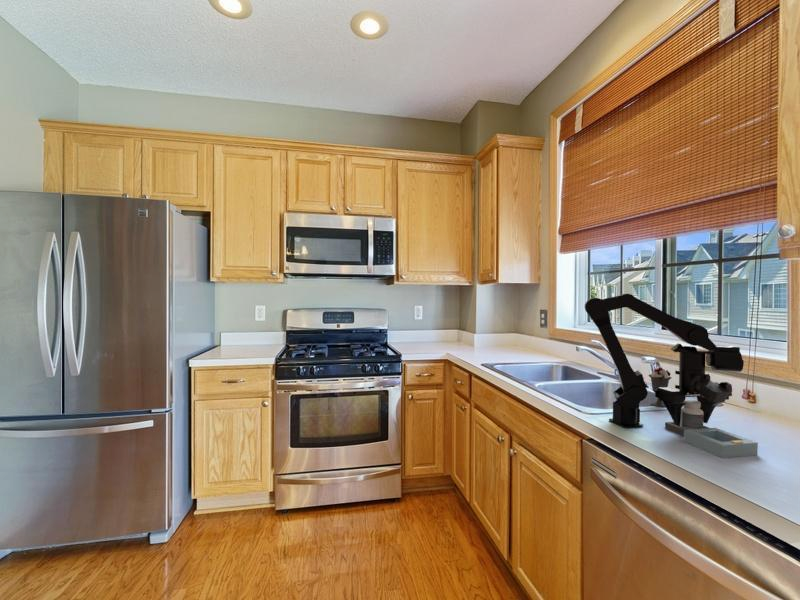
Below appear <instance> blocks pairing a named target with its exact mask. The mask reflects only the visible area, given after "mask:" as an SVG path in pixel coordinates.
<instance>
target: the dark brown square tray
mask: <svg viewBox="0 0 800 600" xmlns="http://www.w3.org/2000/svg"><path fill="white" fill-rule="evenodd" d="M664 425H665V426H664V429H666V430H670V431H672V432H675V433H677V434H679V435H682V436H684V430H687V429H684V428H682V427H679V425H676V424H675V423H674V421H665V422H664ZM704 428H710V427H708V426H706V425H703V429H704Z"/></svg>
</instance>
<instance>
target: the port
mask: <svg viewBox="0 0 800 600" xmlns="http://www.w3.org/2000/svg"><path fill="white" fill-rule="evenodd" d="M683 442H684V443H687V444H689V445H691V446H695V447H696V448H698V449H701V450H704V451H706V452H708V453H711V454H713V455H715V456H717V457H720V458H722V459H728V458H738V457H739V458H741V457H747V456H748V457H749V456H750V457H751V456H758V453H759V452H758V450H759V446H758V445H759V444H758V443H759V442H757V441H754V440H752V439H748V438H747V437H743V436H742V435H741V436H740V435H738V434H735V433H732V432H729V431H726V430H723V429H721V428H718V427H709V428H704V429H691V430H684V435H683Z"/></svg>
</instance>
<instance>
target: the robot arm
mask: <svg viewBox="0 0 800 600" xmlns="http://www.w3.org/2000/svg"><path fill="white" fill-rule="evenodd" d="M624 308H627V309H629V310H631V311H632V312H635V313H636V314H638V315H641V316H643V317H644V318H646V319H648V320H650V321H651V322H653V323H656V324H657V325H659V326H661V327H663V328H665V329H666V330H667V331H669V332H670V333H671V334H672V335H673V336H675V337H677V338H678V340H681V341H682V342H683V343H686V344H689V345H691V346H688V345H685V346H684V345H683V344H681V343H680V342H678V343H676V344H675V345H674V346H672V347H670V350H671V351H672V352H674V353H679V354H678V355H679V357H678V358H679V364H678V369H679V370H677V369H675V375H678V384H674V388H673V387H670V386H668V387H661V388H657V389H656V390H655V393H654V397H655V398H657V399H658V398H659V400H661V401H662V402H663V403H664V405H665V406H666V407H665V409H666V410H667V412H668V413H669V416H670V417H671V419H672V422H674V423H675V424H676V425H680V419H681V408H682V407H684V405H685V404H686V403H683V402H684V400H685V399H687V398H693V397H696V401H699V402H701V407H700V409H701V410H702V411H703V414H704V416H703V424H708V422H709V420H710V418H711V416H712V414H713V412H714V410H715V409H716V406H718V405H720V404H722V403H725V402H726V400H727V401H729V400H730V397H732V396H733V394H732V393H733V385H732V384H731V383H730V382H728V381H721V382H717V381H715V382H714V381H712V379H711V375H710V373H706V366H708V367H710V368H711V370H712V371H721V372H735V373H740V372H742V371H743V370H744V365H745V364H744V363H745V360H744V359H743V356H742V353H741V349H740V346H737V345H736V346H734V345H730V346H726V345H725V346H722V345H716V344H715V343H714V342H713V341H712V340H711V338H709V335H710V334H709V331H708V329H707V328H706V327H704V326H703V325H700V324H696V323H694V322H691V321H687V320H684V319H681V318H678V317H675V316H672V315H671V314H669V313H667V312H665V311H663V310H661V309H659V308H657V307H655V306H653V305H651V304H649V303H647V302H645V301H643V300H641V299H639V298H637V297H635V296H634V295H633V294H631V293H622V294H621V295H615V296H612V297H606V298H599V297H591V298H589V299H587V301H585V303H584V310H585V312H586V314H587V315H588V317H589V318H590V320H592V322H593V323H594V324H595V326H596V328H597V329H598V331H599V333H600V335H601V337H602V339H603V342H604V344H605V346H606V348H607V350H608V352H609V354H610V357H611V359H612V361H613V363H614V365H615V368H616V369H617V374H618V379H619V383H620V386H619V387H618V388H616V389H615V390H614V391H613V392H612V393H613V396H614V398H615V401H613V402H612V418H608V421H610V422H611V423H614V424H616V425H618V426H620V427H623V428H624V429H626V428H638V427H641V428H642V427H644V424H643V423H641V418H640V417H641V408H640V403H641V402H642V401H644V400H645V399H646V398H647V396H648V388H650V387H649V386H648V385H647V384H646V382H645V377H644V376H643V373H642V372H640V370H636V371H634V369H633V368H632V367H631V364H630V362H629V360H628V357H627V355H626V353H625V351H624V349H623V347H622V345H621V343H620V341H619V338H618V336H617V335H616V333H615V330H614V328H613V326H612V322H611V317H610V313H609V312H611V311H615V310H619V309H624ZM697 346H698V347H700V348H702V349H704V350H701V349H697Z"/></svg>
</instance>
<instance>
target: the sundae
mask: <svg viewBox="0 0 800 600" xmlns="http://www.w3.org/2000/svg"><path fill="white" fill-rule="evenodd" d="M654 364H655V368H654V370H653V371H652V372H651V374H648V377H649V378H650V382H651V388H652V391H653V393H654V394H655V390H656V389H657V388H661V387H669V382H670V380H672V378H673V377H672V376H671V372H670V371H669V370H668V369H666V370H665V369H663V367H661V366H659V364H658V362H655V363H654ZM657 366H658V368H657ZM650 404H651V406H654V407H658V408H666V406H665V405H664V403H663V402H662V401H661V400H659V398H657V400H656V401H654V402H651V403H650Z"/></svg>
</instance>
